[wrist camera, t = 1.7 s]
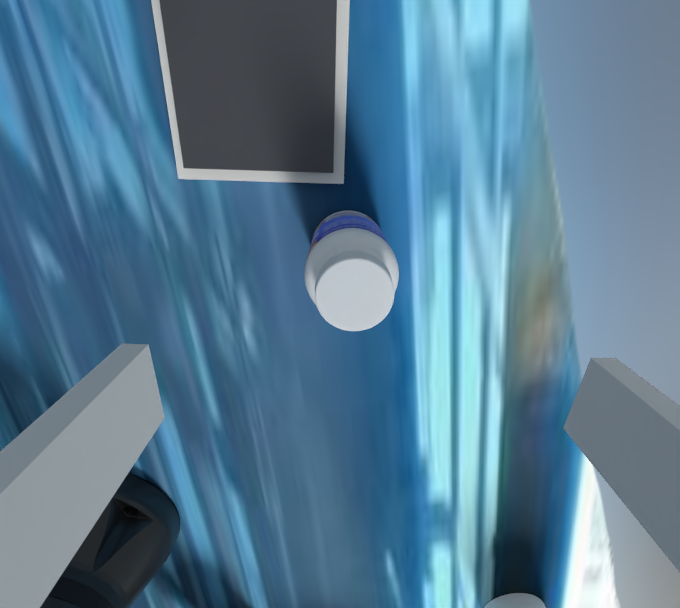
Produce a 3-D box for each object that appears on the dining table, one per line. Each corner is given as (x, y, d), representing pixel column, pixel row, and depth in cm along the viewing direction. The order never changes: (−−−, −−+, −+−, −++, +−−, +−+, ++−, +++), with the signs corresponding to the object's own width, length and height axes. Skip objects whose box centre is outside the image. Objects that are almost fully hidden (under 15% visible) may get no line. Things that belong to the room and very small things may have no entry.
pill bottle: (304, 217, 25) (285, 253, 16) (378, 202, 24) (401, 231, 16) (320, 285, 27) (311, 351, 18) (388, 273, 27) (413, 334, 18)
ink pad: (184, 177, 24) (174, 179, 22) (154, -31, 19) (139, -46, 18) (343, 182, 24) (343, 184, 22) (350, -23, 19) (350, -37, 18)
